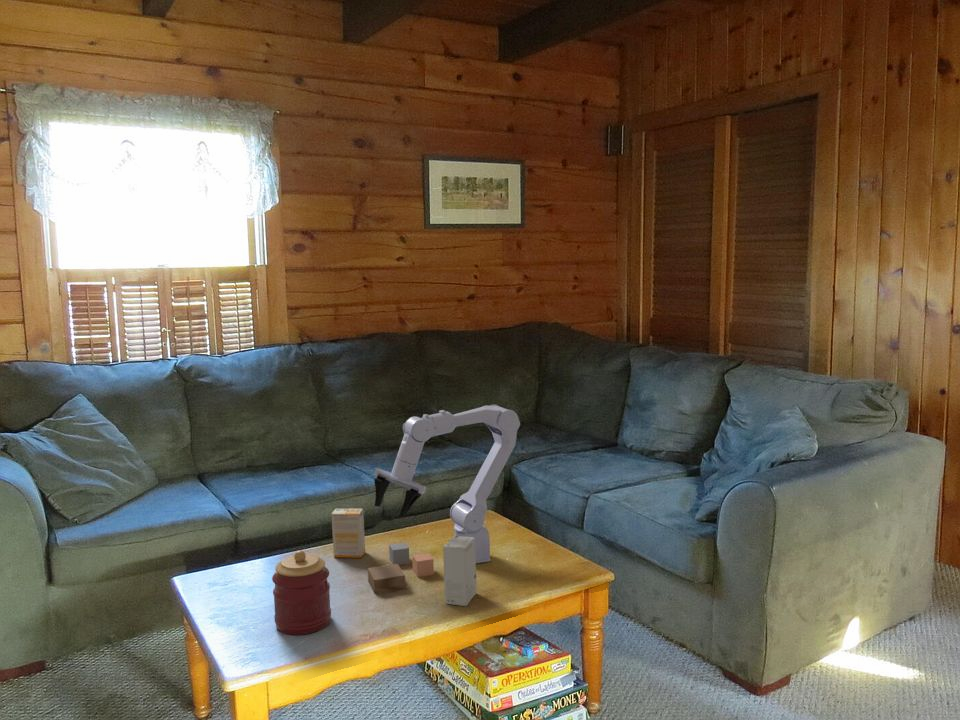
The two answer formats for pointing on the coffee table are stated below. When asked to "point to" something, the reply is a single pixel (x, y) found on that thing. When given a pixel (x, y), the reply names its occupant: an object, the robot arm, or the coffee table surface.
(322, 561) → the canister
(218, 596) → the coffee table surface
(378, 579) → the walnut block
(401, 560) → the slate grey cube
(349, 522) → the supplement box
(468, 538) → the skincare box
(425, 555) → the terracotta cube
